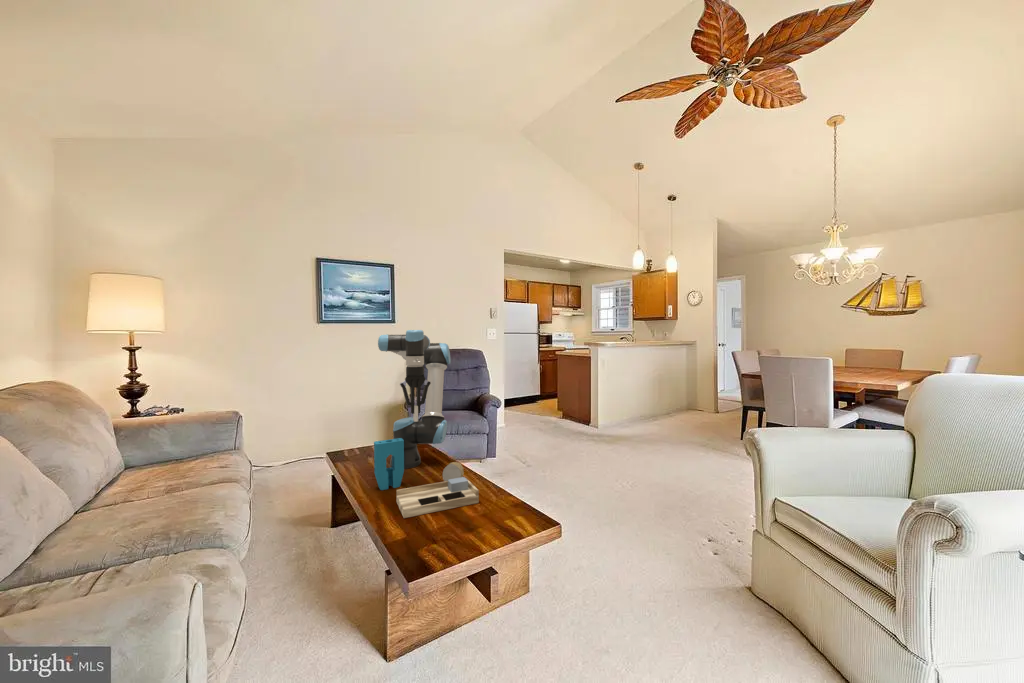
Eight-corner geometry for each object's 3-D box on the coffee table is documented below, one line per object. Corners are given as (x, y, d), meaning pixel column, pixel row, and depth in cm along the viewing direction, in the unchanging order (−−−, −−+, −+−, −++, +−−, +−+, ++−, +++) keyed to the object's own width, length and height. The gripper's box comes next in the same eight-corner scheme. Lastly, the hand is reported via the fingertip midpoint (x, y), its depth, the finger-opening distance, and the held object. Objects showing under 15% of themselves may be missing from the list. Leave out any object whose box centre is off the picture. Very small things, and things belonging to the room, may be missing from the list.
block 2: (402, 482, 177) (401, 437, 177) (404, 485, 173) (404, 440, 172) (374, 487, 171) (373, 441, 171) (376, 491, 167) (375, 444, 167)
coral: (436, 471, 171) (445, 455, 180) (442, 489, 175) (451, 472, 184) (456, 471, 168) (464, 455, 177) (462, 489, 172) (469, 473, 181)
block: (447, 488, 162) (447, 479, 162) (464, 485, 165) (464, 476, 165) (451, 492, 158) (451, 483, 158) (468, 489, 161) (467, 480, 161)
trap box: (396, 502, 156) (396, 489, 156) (466, 489, 169) (466, 477, 168) (403, 518, 142) (403, 504, 142) (478, 502, 155) (478, 490, 155)
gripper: (401, 367, 162) (401, 424, 162) (432, 365, 168) (433, 421, 168) (397, 365, 169) (398, 420, 169) (428, 364, 174) (428, 417, 175)
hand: (415, 420), depth 169 cm, fingers closed
